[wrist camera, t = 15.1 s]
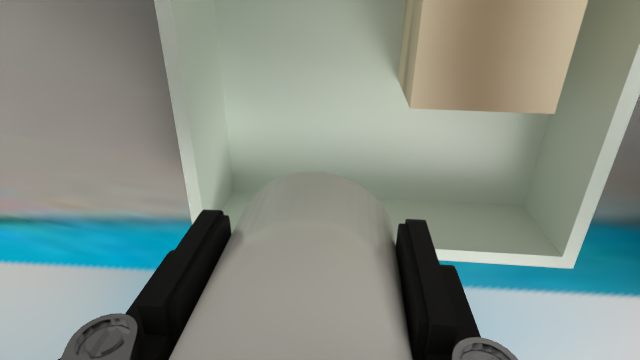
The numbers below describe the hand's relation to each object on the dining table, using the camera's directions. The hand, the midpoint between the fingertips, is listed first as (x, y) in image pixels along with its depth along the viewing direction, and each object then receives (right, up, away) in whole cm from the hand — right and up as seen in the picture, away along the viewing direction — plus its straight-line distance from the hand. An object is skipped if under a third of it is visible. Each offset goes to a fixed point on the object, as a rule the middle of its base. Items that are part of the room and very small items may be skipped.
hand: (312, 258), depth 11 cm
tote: (+3, +7, +7) cm, 11 cm away
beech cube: (+6, +9, +5) cm, 12 cm away
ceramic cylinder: (0, 0, +1) cm, 1 cm away
